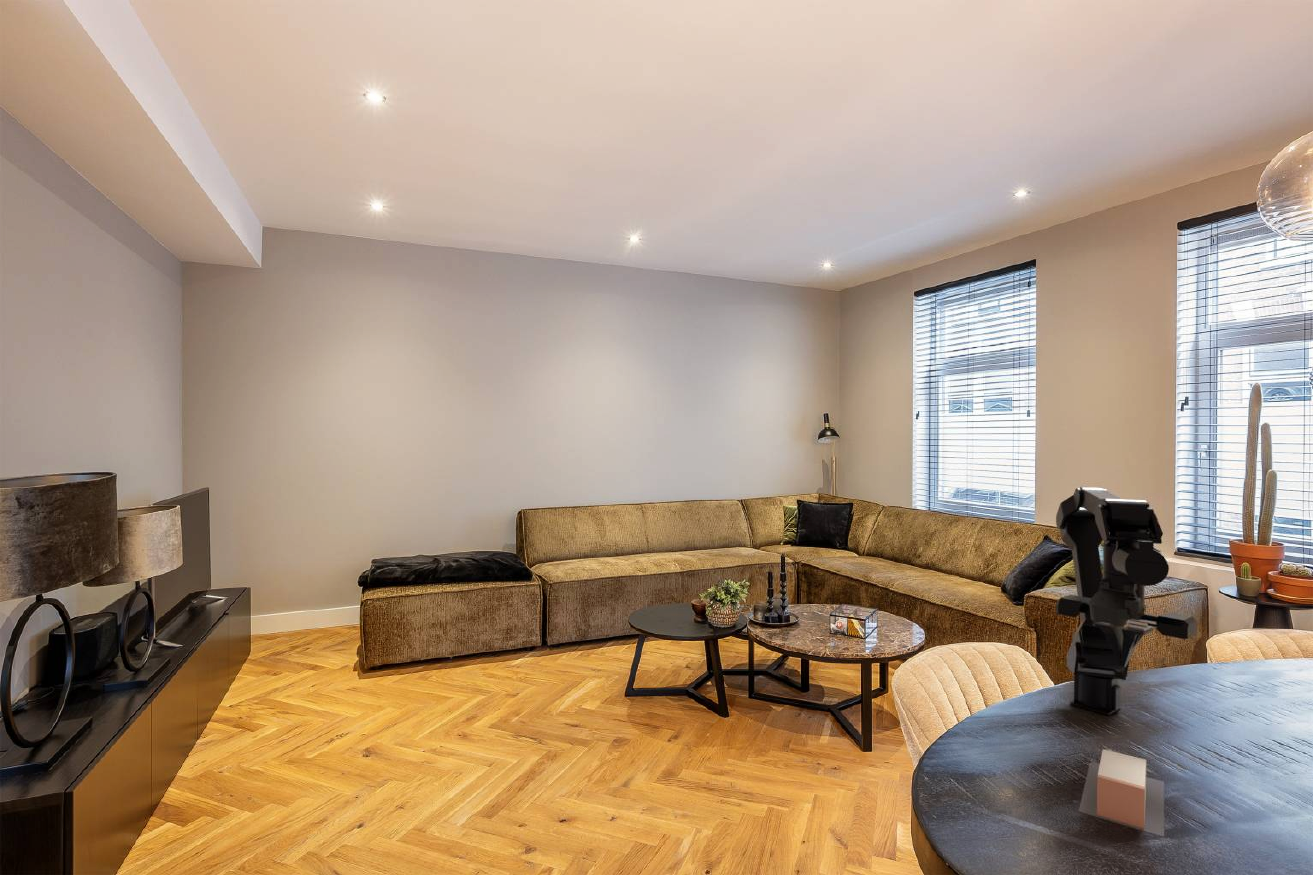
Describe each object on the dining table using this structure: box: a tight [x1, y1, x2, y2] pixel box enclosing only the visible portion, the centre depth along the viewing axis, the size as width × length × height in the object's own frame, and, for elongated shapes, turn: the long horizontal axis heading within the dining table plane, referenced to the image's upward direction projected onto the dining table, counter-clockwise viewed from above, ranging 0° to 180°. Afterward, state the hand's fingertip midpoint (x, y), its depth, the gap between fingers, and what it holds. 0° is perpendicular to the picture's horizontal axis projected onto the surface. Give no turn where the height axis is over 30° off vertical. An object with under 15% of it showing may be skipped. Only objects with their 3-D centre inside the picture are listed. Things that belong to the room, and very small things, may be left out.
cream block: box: [1097, 749, 1147, 829], centre depth 89 cm, size 5×5×10 cm
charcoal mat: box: [1078, 762, 1165, 838], centre depth 91 cm, size 17×9×1 cm, turn 142°
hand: (1122, 666), depth 111 cm, fingers closed
